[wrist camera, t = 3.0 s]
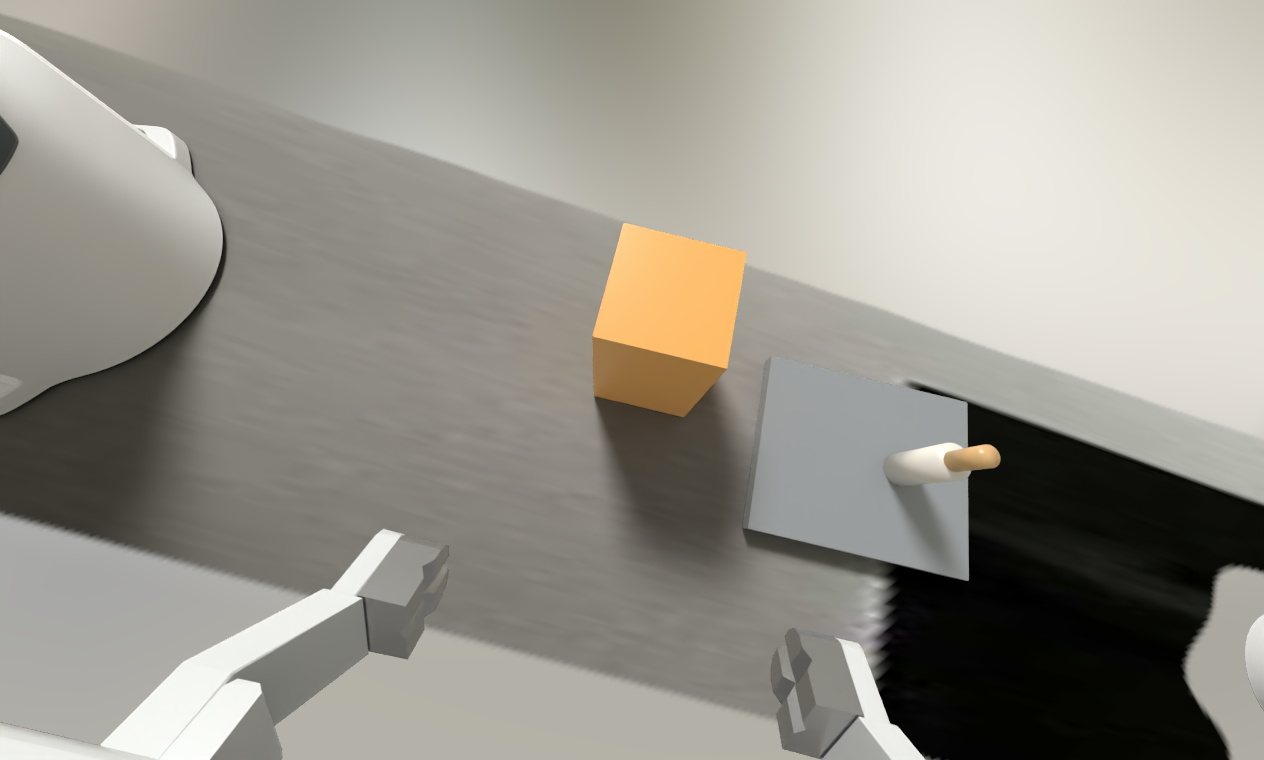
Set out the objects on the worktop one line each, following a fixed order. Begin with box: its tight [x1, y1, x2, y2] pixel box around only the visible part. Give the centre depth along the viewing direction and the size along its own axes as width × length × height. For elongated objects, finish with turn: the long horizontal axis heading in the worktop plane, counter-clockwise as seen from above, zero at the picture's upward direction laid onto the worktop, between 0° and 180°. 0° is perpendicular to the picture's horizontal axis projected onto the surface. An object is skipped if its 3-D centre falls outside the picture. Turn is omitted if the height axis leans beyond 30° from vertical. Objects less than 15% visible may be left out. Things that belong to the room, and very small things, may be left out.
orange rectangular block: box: [592, 223, 747, 417], centre depth 22 cm, size 5×5×9 cm
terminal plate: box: [742, 356, 969, 581], centre depth 25 cm, size 12×10×1 cm
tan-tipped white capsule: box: [883, 443, 1000, 486], centre depth 22 cm, size 2×2×6 cm
